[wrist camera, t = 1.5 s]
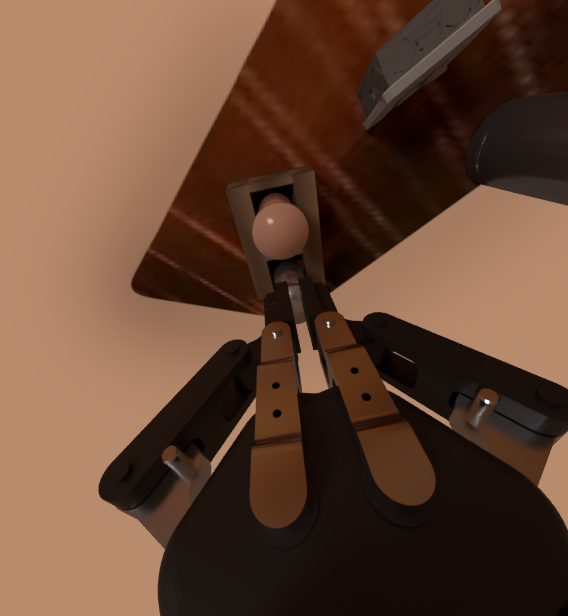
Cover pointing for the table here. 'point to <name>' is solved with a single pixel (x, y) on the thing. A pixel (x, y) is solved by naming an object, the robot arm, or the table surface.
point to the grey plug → (292, 286)
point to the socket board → (246, 212)
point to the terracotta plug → (279, 227)
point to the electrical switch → (421, 53)
